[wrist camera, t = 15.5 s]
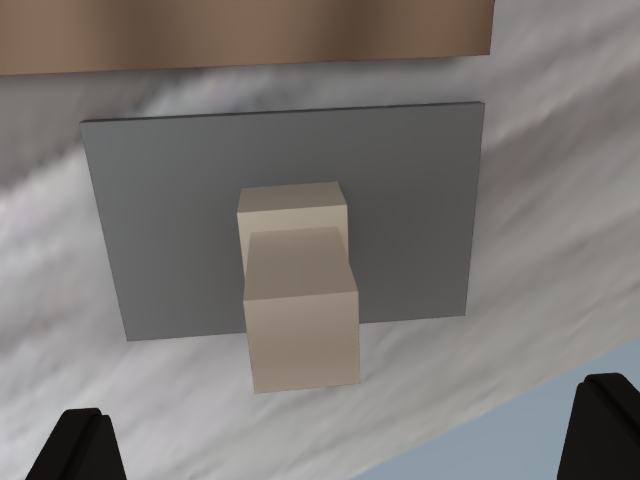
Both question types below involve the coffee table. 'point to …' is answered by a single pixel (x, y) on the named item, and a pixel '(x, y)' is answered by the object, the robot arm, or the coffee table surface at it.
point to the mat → (276, 170)
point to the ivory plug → (298, 287)
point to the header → (233, 32)
